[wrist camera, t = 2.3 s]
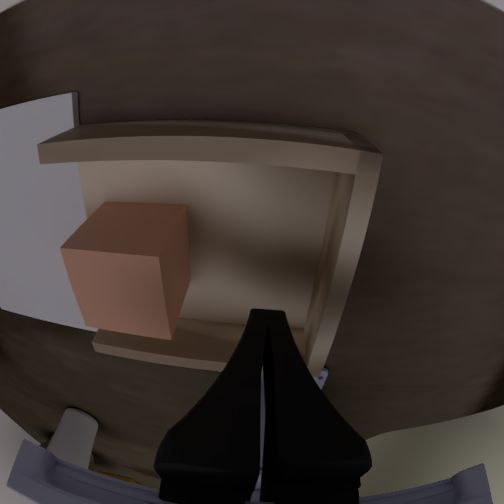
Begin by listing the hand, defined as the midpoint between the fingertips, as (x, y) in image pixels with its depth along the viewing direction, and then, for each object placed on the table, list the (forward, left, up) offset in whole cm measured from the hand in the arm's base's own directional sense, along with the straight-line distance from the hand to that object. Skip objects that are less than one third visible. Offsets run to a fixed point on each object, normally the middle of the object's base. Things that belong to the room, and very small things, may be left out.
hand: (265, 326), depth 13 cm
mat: (0, +18, -7) cm, 19 cm away
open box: (0, +4, -7) cm, 8 cm away
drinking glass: (-30, +23, -7) cm, 38 cm away
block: (0, +7, -6) cm, 9 cm away
